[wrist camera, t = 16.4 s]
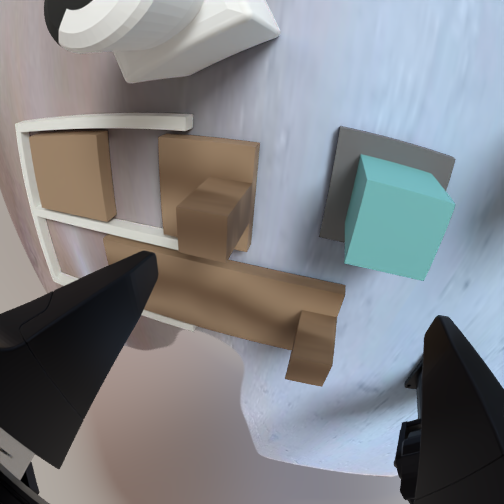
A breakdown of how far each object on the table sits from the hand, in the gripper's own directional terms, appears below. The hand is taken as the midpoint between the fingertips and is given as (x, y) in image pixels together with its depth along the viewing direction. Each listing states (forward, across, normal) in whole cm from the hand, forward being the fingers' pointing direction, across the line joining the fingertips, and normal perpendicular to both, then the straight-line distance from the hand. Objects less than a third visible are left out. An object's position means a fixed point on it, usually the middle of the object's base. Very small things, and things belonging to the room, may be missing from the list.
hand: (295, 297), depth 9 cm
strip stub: (+13, +8, +3) cm, 15 cm away
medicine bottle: (+14, +8, -10) cm, 19 cm away
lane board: (+13, +20, +8) cm, 25 cm away
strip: (+13, +7, +13) cm, 20 cm away
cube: (+13, -5, +1) cm, 14 cm away
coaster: (+13, -5, +1) cm, 14 cm away
